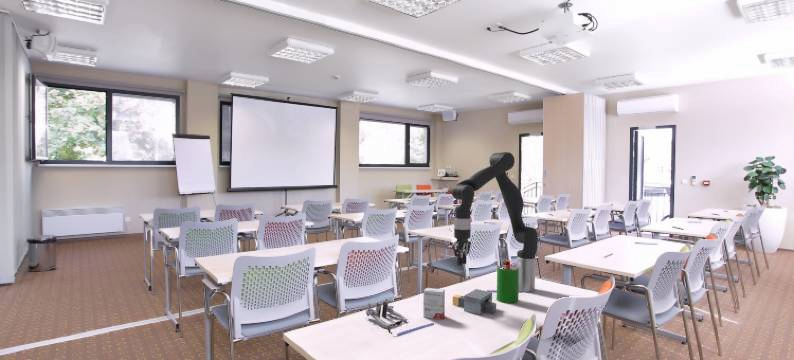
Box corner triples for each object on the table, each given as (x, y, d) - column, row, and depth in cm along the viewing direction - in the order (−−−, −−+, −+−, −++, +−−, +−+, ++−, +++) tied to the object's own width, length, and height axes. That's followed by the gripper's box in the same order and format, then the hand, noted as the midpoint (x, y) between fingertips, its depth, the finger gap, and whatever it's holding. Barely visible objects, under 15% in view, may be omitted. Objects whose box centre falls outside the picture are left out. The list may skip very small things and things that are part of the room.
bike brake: (361, 316, 173) (390, 339, 158) (363, 301, 172) (392, 323, 157) (386, 310, 181) (416, 331, 166) (388, 295, 180) (418, 315, 165)
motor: (516, 297, 201) (517, 257, 200) (520, 303, 192) (521, 261, 191) (495, 296, 202) (496, 256, 201) (498, 303, 193) (499, 261, 192)
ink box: (445, 316, 176) (445, 289, 176) (442, 320, 172) (443, 292, 171) (426, 313, 179) (426, 287, 179) (423, 317, 174) (423, 290, 174)
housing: (475, 303, 192) (476, 289, 192) (491, 307, 187) (492, 292, 187) (463, 310, 182) (464, 295, 182) (480, 315, 178) (480, 299, 177)
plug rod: (456, 302, 193) (456, 294, 193) (496, 312, 181) (496, 303, 181) (452, 304, 190) (452, 296, 190) (492, 314, 178) (493, 305, 178)
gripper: (462, 230, 180) (461, 269, 181) (476, 226, 192) (476, 262, 192) (447, 228, 185) (447, 266, 186) (462, 225, 196) (461, 260, 197)
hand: (461, 264), depth 189 cm, fingers open, 3 cm apart
